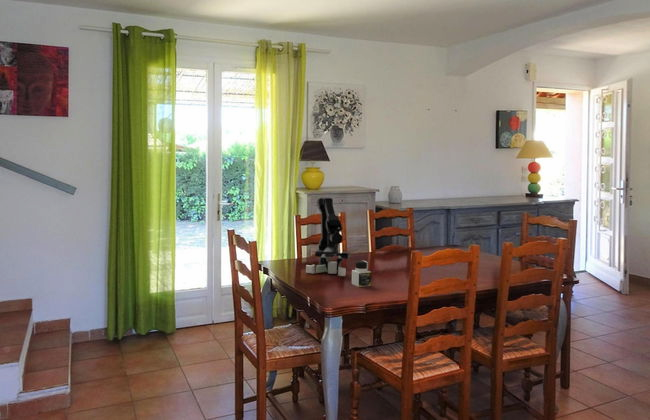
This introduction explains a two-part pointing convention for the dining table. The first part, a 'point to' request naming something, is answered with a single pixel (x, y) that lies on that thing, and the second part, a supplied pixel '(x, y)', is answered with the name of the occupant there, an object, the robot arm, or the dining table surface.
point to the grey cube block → (332, 267)
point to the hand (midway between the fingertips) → (332, 270)
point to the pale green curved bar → (321, 268)
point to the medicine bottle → (361, 274)
